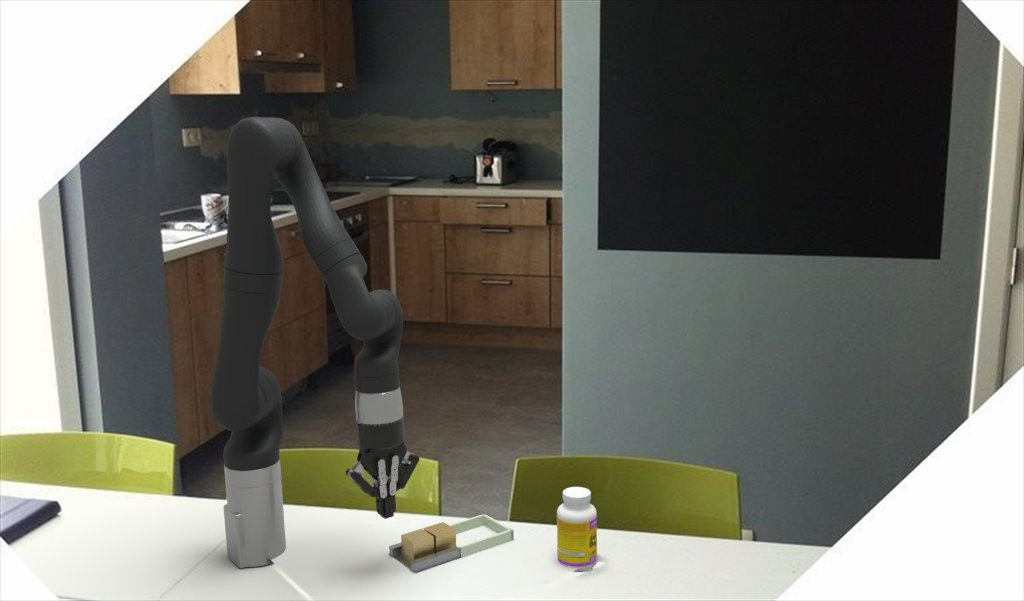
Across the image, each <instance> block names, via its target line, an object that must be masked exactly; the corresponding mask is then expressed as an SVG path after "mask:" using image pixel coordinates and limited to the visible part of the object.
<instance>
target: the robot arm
mask: <svg viewBox="0 0 1024 601" xmlns="http://www.w3.org/2000/svg"><path fill="white" fill-rule="evenodd" d="M226 148H227V151H226V163H227V165H226V166H227V167H226V168H227V186H228V187H227V190H228V191H227V192H228V193H227V194H228V196H227V197H228V203H227V204H228V206H227V208H228V209H227V226H226V227H227V229H226V247H225V248H226V249H225V256H224V257H225V258H224V263H223V264H224V266H223V279H222V280H223V282H222V304H221V314H220V326H219V327H220V328H219V330H220V331H219V339H218V340H219V342H218V350H217V356H216V361H215V366H214V372H213V377H212V378H213V379H212V383H211V389H210V396H209V397H210V398H209V399H210V401H209V402H210V404H209V405H210V408H211V409H210V410H211V413H212V416H213V418H214V419H215V421H216V422H217V424H218V425H219V426H220V427H222V428H223V429H225V430H226V431H229V432H231V434H230V437H229V439H228V441H227V443H226V444H225V446H224V448H223V452H222V453H223V454H222V457H223V465H224V467H223V468H224V469H223V470H224V479H225V493H226V504H224V505H223V516H224V517H223V518H224V527H225V528H224V529H225V531H224V532H225V540H226V541H225V542H226V553H227V554H226V555H227V557H228V559H229V560H231V561H232V562H233V563H234V564H235V565H236V566H237V567H238V568H239V569H245V568H256V567H264V566H267V565H271V564H274V562H275V561H274V562H273V561H272V560H273V559H276V558H277V557H279V556H281V555H283V554H284V553H285V551H286V549H287V539H286V538H287V537H286V527H285V526H286V525H285V516H284V515H285V514H284V513H285V512H284V500H283V499H284V498H283V486H282V485H283V484H282V473H281V472H282V471H281V470H282V469H281V459H280V458H281V456H280V450H281V446H282V442H283V438H284V436H283V435H284V434H283V433H284V430H283V429H284V425H283V417H284V416H283V398H282V391H281V390H282V389H281V386H280V384H279V382H278V380H277V378H276V376H275V375H274V374H273V372H272V371H270V370H269V369H267V368H265V367H263V366H261V365H260V364H261V355H262V352H263V347H264V343H265V341H266V338H267V335H268V334H269V332H270V328H271V326H272V324H273V322H274V318H275V315H276V313H277V310H278V307H279V303H280V301H281V294H282V286H283V278H284V277H283V276H284V254H283V251H282V250H283V249H282V247H281V246H282V245H281V243H280V240H279V236H278V235H277V232H276V229H275V226H274V222H273V218H272V211H271V208H272V207H271V203H272V202H271V201H272V192H273V191H272V189H273V182H274V181H273V180H274V179H276V181H277V182H278V183H279V184H280V185H281V187H282V188H283V190H284V191H285V192H286V194H287V195H288V197H289V199H290V201H291V203H292V205H293V207H294V210H295V213H296V217H297V222H298V226H299V232H300V236H301V239H302V243H303V245H304V248H305V251H306V252H307V254H308V255H309V257H310V259H311V261H312V263H313V264H314V266H315V267H316V268H317V271H318V272H319V274H320V275H321V277H322V279H323V280H324V281H325V283H326V285H327V287H328V290H329V295H330V297H331V298H330V299H331V301H332V304H333V306H334V309H335V312H336V315H337V318H338V320H339V322H340V324H341V326H342V327H343V328H344V330H345V331H346V332H347V333H348V334H349V335H350V336H351V337H352V338H354V339H356V340H359V341H362V342H363V346H362V349H361V350H360V352H358V354H357V355H356V356H355V358H354V363H353V370H354V372H353V373H354V384H355V387H354V388H355V400H354V408H355V420H356V423H355V424H356V434H357V444H358V450H359V451H358V453H357V456H356V461H357V462H356V463H355V464H354V466H352V468H347V469H346V470H345V475H346V476H347V477H348V478H349V479H350V480H351V481H352V483H354V484H355V485H356V486H357V487H358V488H359V489H360V490H361V491H362V492H363V493H364V494H366V495H368V496H369V497H372V498H375V507H376V513H377V515H379V516H380V517H381V518H383V519H384V520H386V519H390V518H393V517H394V516H395V514H394V513H396V510H397V507H396V506H397V505H396V494H397V492H398V491H400V490H403V489H404V488H405V487H406V486H407V484H408V482H409V480H410V478H411V477H412V474H413V472H414V471H415V469H416V467H417V465H418V463H419V462H420V456H419V455H416V454H415V453H413V452H411V451H408V447H407V445H406V444H405V440H406V439H405V438H406V437H405V435H406V434H405V423H404V405H403V397H402V396H403V395H402V392H401V386H400V385H401V384H400V372H399V371H400V369H399V355H400V350H401V346H402V344H401V343H402V335H403V329H404V328H403V326H404V313H403V309H402V306H401V303H400V301H399V299H398V298H397V296H396V295H395V294H394V293H392V291H389V290H388V289H375V290H372V291H369V290H368V287H367V285H366V282H365V280H364V276H365V275H366V274H367V272H368V264H367V261H365V258H364V256H363V255H362V253H361V252H360V250H359V248H358V247H357V245H356V243H355V242H354V241H353V239H352V237H351V236H350V234H349V232H348V231H347V230H346V228H345V226H344V224H343V223H342V221H341V220H340V216H338V214H337V212H336V209H335V208H334V206H333V204H332V203H331V201H330V198H329V196H328V194H327V192H326V190H325V187H324V185H323V183H322V181H321V179H320V176H319V174H318V172H317V170H316V167H315V165H314V163H313V160H312V158H311V156H310V153H309V151H308V148H307V146H306V143H305V141H304V140H303V137H302V135H301V134H300V132H299V131H298V129H297V128H296V126H295V125H294V124H293V123H292V122H290V121H288V120H286V119H284V118H282V117H281V118H280V117H273V116H270V117H264V116H263V117H262V116H261V117H259V116H253V117H252V116H250V117H249V116H248V117H245V118H243V119H241V120H238V122H237V123H235V124H234V126H233V127H232V129H231V131H230V134H229V136H228V140H227V147H226ZM363 470H364V471H365V472H366V473H367V474H368V475H369V479H370V481H371V483H372V485H371V484H370V483H369V482H368V481H367V480H366V479H365V478H364V477H365V472H364V471H363Z"/></svg>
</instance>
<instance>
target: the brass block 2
mask: <svg viewBox="0 0 1024 601" xmlns="http://www.w3.org/2000/svg"><path fill="white" fill-rule="evenodd" d="M449 525H450V524H448V523H446V522H444V521H442V522H439V523H435V524H433V525H428V526H425V527H423V528H422V529H423V530H424V531H426V532H427V533H429V534H431V535H432V536H434V553H437V552H440V551H443V550H446V549H449V548H452V547H455V546H457V534H456V529H454V528H452V527H451V526H449Z"/></svg>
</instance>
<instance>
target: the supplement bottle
mask: <svg viewBox="0 0 1024 601" xmlns="http://www.w3.org/2000/svg"><path fill="white" fill-rule="evenodd" d="M562 500H563V502H562V504H560V505H559V506H558V507H557V510H556V538H557V539H556V541H557V542H556V543H557V546H556V547H557V548H556V551H557V553H556V556H557V561H558V564H561V565H562V566H564V567H567V568H568V567H569V568H572V569H575V570H574V572H575V573H578V572H579V573H580V572H586V571H590V570H591V569H593V568H594V567H596V565H597V560H598V538H597V537H598V536H597V535H598V534H597V533H598V532H597V531H598V528H597V527H598V526H597V525H598V522H597V521H598V515H597V514H598V513H597V512H598V511H597V509H596V507H595V506H594V505H593V504H592V503H590V502H591V500H592V492H591V490H590V489H589V488H586V487H581V486H570V487H567V488H565V489H563V491H562Z"/></svg>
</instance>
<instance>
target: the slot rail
mask: <svg viewBox="0 0 1024 601" xmlns="http://www.w3.org/2000/svg"><path fill="white" fill-rule="evenodd" d="M388 548H389V549H388V550H389V553H388V555H389V556H390V557H392V558H394V559H395V560H396V561H398V562H399V563H400V564H402V565H403V566H404V567H406V568H407V569H408V570H410V571H411V572H413V573H414V574H418V573H421V572H425V571H427V570H430V569H432V568H436V567H439V566H442V565H445V564H448V563H450V562H453V561H455V560H459V559H462V558H463V557H461V555H460V548H459V546H457V545H456V546H455V547H452V548H449V549H446V550H443V551H440V552H437V553H434V554H431V555H428V556H425V557H422V558H419V559H416V560H413V561H411V563H410V562H408V561H407V560H406V559H404V558H403V557H402V543H401V542H399V543H395V544H391V545H389V546H388Z"/></svg>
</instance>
